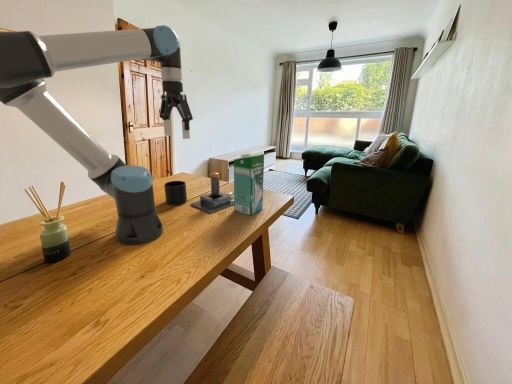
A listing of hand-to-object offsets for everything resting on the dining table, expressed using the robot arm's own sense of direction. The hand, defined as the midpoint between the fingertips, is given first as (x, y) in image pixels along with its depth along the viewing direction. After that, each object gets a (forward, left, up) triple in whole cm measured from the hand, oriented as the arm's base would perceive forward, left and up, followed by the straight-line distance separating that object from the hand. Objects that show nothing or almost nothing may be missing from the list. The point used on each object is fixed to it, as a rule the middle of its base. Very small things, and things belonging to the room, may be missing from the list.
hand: (176, 137), depth 102 cm
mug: (+2, +7, -31) cm, 32 cm away
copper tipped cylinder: (+12, -9, -30) cm, 33 cm away
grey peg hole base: (+14, -9, -31) cm, 35 cm away
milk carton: (+17, -25, -31) cm, 43 cm away
